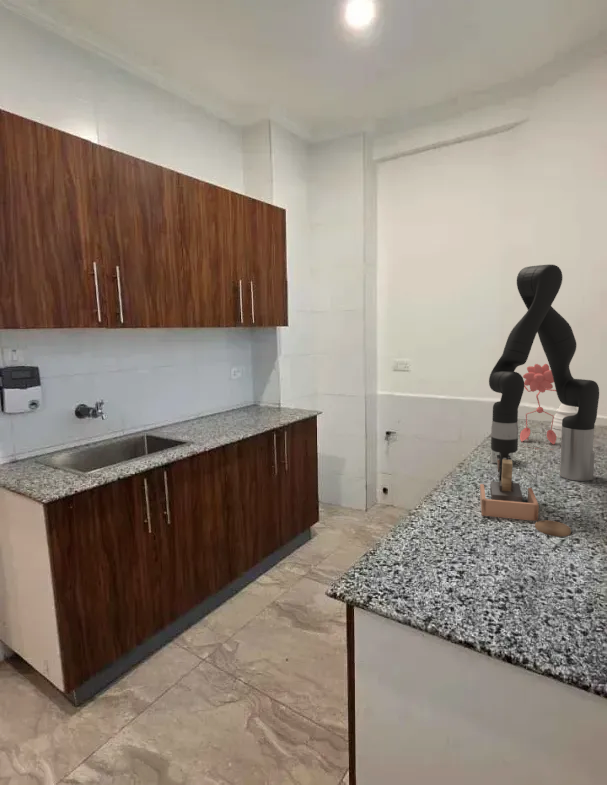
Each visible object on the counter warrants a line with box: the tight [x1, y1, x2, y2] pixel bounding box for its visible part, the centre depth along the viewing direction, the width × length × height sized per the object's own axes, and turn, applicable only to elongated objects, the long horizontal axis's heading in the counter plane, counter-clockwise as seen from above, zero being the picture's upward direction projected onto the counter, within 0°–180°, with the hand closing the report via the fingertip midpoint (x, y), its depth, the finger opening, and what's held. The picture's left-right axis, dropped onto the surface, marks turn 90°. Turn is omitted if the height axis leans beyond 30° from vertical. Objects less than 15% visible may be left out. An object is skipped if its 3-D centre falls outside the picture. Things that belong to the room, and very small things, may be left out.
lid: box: [534, 519, 572, 537], centre depth 114 cm, size 8×8×1 cm
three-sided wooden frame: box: [479, 483, 540, 522], centre depth 127 cm, size 14×13×4 cm
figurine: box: [519, 363, 561, 451], centre depth 190 cm, size 15×26×35 cm, turn 54°
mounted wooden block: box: [489, 459, 523, 502], centre depth 132 cm, size 8×8×12 cm
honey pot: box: [550, 403, 578, 439], centre depth 205 cm, size 13×13×18 cm
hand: (502, 489), depth 139 cm, fingers closed
